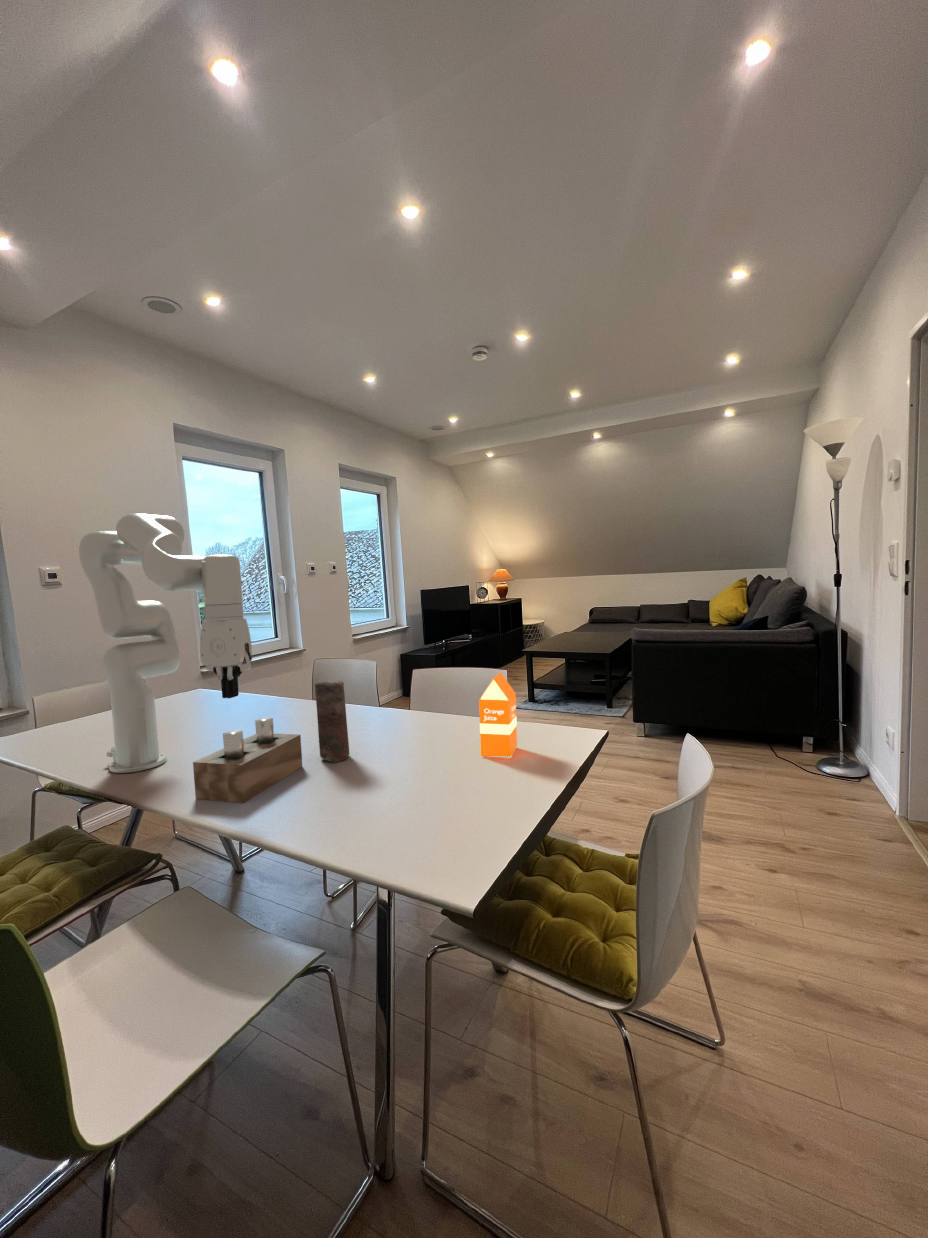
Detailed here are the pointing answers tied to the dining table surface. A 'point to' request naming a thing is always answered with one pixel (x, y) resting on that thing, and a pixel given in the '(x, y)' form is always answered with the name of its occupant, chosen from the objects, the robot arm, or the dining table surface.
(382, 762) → the dining table surface
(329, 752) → the weathered brick
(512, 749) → the orange juice
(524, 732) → the dining table surface
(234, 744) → the peg
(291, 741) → the walnut block
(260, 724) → the peg
